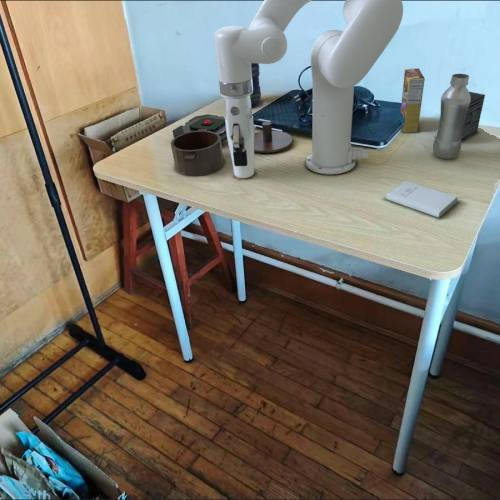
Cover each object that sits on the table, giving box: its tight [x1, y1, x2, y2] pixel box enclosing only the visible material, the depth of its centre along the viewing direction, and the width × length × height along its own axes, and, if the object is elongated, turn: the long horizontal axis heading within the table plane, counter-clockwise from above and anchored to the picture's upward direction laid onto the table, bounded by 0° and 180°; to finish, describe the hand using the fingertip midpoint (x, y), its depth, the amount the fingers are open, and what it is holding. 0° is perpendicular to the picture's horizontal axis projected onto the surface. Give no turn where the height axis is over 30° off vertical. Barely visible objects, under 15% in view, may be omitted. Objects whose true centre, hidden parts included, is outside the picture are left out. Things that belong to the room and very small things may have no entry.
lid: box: [254, 121, 293, 154], centre depth 129 cm, size 14×14×6 cm
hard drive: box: [385, 180, 459, 218], centre depth 100 cm, size 2×8×12 cm
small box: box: [437, 91, 486, 142], centre depth 123 cm, size 11×6×10 cm, turn 129°
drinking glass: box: [224, 114, 255, 179], centre depth 112 cm, size 7×7×15 cm
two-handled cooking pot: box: [170, 129, 224, 177], centre depth 121 cm, size 13×18×7 cm
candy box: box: [400, 68, 426, 134], centre depth 128 cm, size 9×4×15 cm, turn 172°
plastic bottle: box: [432, 73, 471, 160], centre depth 110 cm, size 6×7×20 cm
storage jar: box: [250, 63, 262, 109], centre depth 154 cm, size 10×10×15 cm
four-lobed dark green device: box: [171, 113, 228, 144], centre depth 138 cm, size 18×18×5 cm
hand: (242, 158), depth 114 cm, fingers closed on drinking glass, 6 cm apart
